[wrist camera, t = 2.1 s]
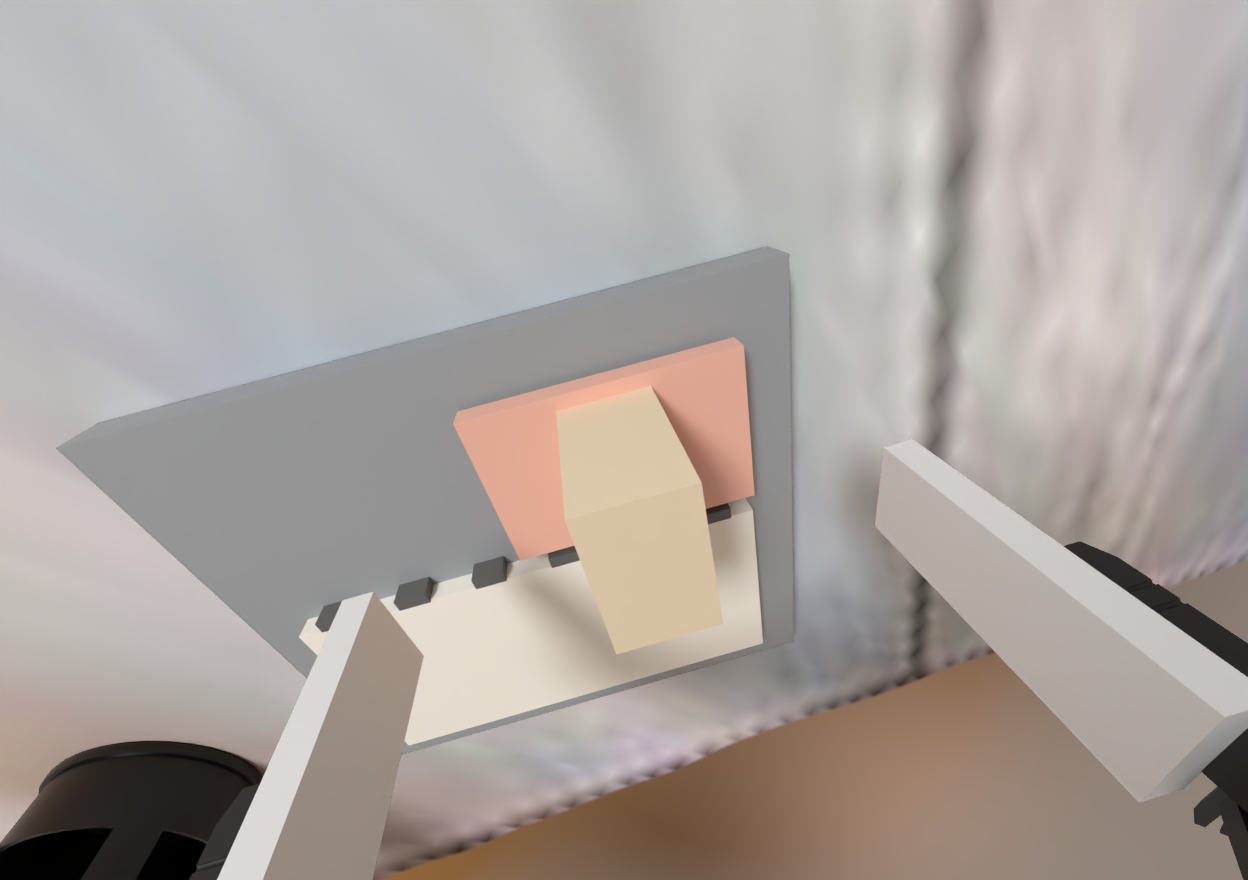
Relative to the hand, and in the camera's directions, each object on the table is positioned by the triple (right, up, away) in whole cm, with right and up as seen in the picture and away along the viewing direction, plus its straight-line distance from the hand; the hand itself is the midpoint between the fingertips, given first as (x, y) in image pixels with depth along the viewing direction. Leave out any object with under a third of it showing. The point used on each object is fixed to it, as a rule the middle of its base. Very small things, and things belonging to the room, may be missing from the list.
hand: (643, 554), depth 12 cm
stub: (-1, +3, +4) cm, 5 cm away
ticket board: (-4, -2, +8) cm, 9 cm away
